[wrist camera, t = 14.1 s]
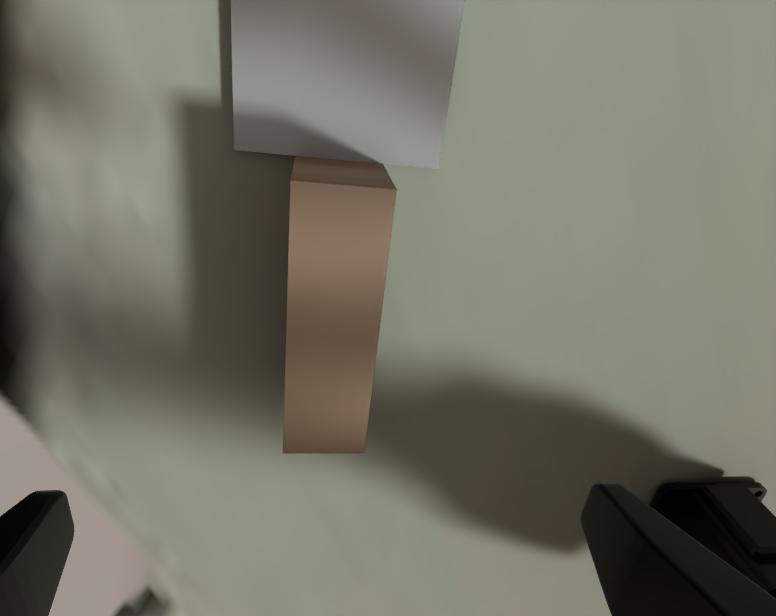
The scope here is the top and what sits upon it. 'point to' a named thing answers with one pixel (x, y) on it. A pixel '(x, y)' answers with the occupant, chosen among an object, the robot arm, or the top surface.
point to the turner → (339, 176)
